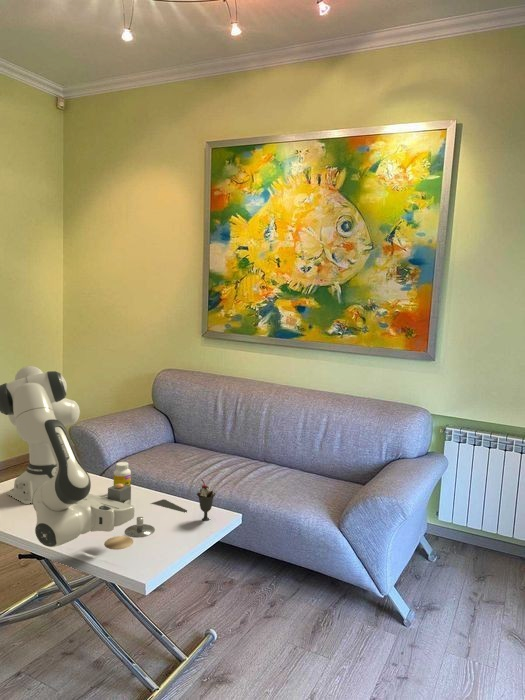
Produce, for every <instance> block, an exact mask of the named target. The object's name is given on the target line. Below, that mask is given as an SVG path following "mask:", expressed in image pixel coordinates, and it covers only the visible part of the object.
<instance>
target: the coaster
mask: <svg viewBox="0 0 525 700" xmlns="http://www.w3.org/2000/svg"><path fill="white" fill-rule="evenodd" d="M133 544H134V539H133V537H130V536H127V535H126V536H125V535H119V536H118V535H117V536H114V537H110V538H108V539H106V541H105V542H104V546H105V547H106V548H107V549H110V550H123V549H127V548H130V547H131V546H132V545H133Z"/></svg>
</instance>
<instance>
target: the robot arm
mask: <svg viewBox="0 0 525 700" xmlns="http://www.w3.org/2000/svg"><path fill="white" fill-rule="evenodd" d="M67 390H68V384H67V381H66V379H65V377H64V376H63V375H62V374H61V373H60V372H58V371H56V370H54V371H53V370H52V371H47V372H44V371H43V370H42V369H40V368H39V367H37V366H34V365H28V366H23V367H22V368H20V369H19V370H18V371H17V373H15V377H14V380H13V381H10V382H5V383H3V384H1V385H0V413H1V414H3V415H6V416H8V419H9V421H10V423H11V424H12V425H13V426H15V428H16V430H17V434H18V436H19V438H20V439H21V440H22V441H24V442H25V443H27V444H28V451H29V452H28V454H29V461H27V462H25V463H24V466H26V470H25V471H24V472H23V473H21V474H20V475H19V476H17V478H15V479H14V484H13V488H11V489H10V490H8V491H7V494H8V495H7V494H6V495H7V496H9V495H10V497H11V496H12V497H11V498H12V499H14V498H15V500H16V499H17V500H16V501H18V500H19V501H18V502H20V501H21V502H20V503H22V504H24V505H30V503H31V504H32V506H33V508H34V511H35V513H36V524H35V529H34V531H35V532H34V533H35V536H36V538H37V540H38V541H39V542H40V544H42V545H43V546H46V547H49V548H54V547H58V546H59V547H60V546H62V545H65V544H67V543H69V542H71V541H73V540H76V539H77V538H78V537H80V535H85V534H87V533H89V532H112V531H114V529H115V528H116V527H120V526H123V525H125V524H126V523H128V522H130V521H131V520H133V519H134V518H135V506H134V505H132V499H131V500H128V499H126V500H124V503H121V502H118V501H114V500H110V499H108V495H106V496H99V495H95V494H91V493H90V492H91V488H92V485H91V483H92V482H91V477H90V475H89V473H88V471H87V470H86V468H85V467H84V466H83V464H82V463H81V460H80V458H79V456H78V453H77V451H76V448H75V446H74V444H73V441H72V439H71V437H70V435H69V432H68V430H67V428H66V427H68V426H72V425H75V424H76V423H77V422H78V420H79V418H80V415H81V410H80V406H79V404H78V403H77V401H75V400H73V399H69V398H68V397H67V392H68V391H67ZM66 397H67V398H66Z"/></svg>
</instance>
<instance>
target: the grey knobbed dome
mask: <svg viewBox="0 0 525 700" xmlns="http://www.w3.org/2000/svg"><path fill="white" fill-rule="evenodd" d="M155 530H156V529H155V527H154V526H152V525H150V524H145V523H144V517H143V516H138V517H136V524H133V525H130V526H128V527H127V528H125V529H124V534H125V535H126V536H127V537H130V538H145V537H146V538H147V537H149V536H151V535H153V534H154V533H155Z"/></svg>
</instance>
